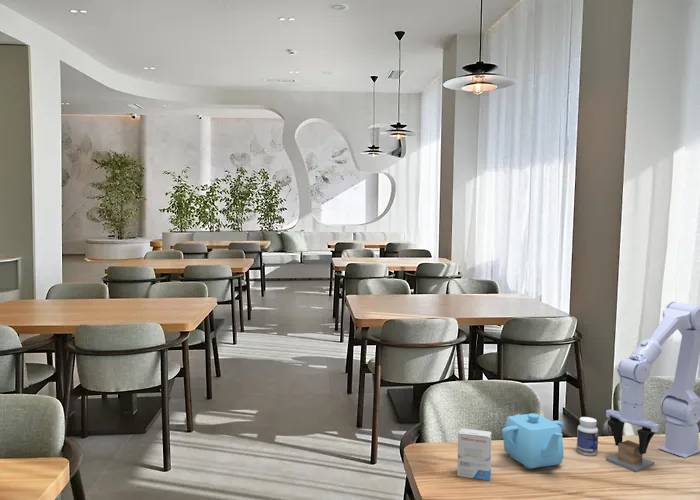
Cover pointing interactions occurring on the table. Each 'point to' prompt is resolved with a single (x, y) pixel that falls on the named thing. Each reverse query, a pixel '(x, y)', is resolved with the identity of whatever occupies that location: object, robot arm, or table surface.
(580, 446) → the pill bottle
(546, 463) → the teapot
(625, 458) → the walnut cube
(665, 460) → the table surface
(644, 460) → the slate coaster
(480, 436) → the ink box
